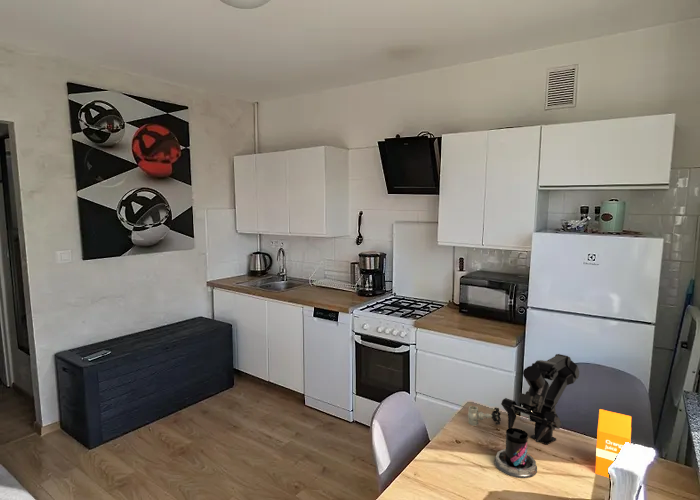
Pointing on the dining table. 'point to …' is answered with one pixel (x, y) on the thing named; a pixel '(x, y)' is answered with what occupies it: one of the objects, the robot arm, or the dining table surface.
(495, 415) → the valve
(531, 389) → the robot arm
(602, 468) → the orange juice
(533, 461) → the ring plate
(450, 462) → the dining table surface
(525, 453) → the supplement container
